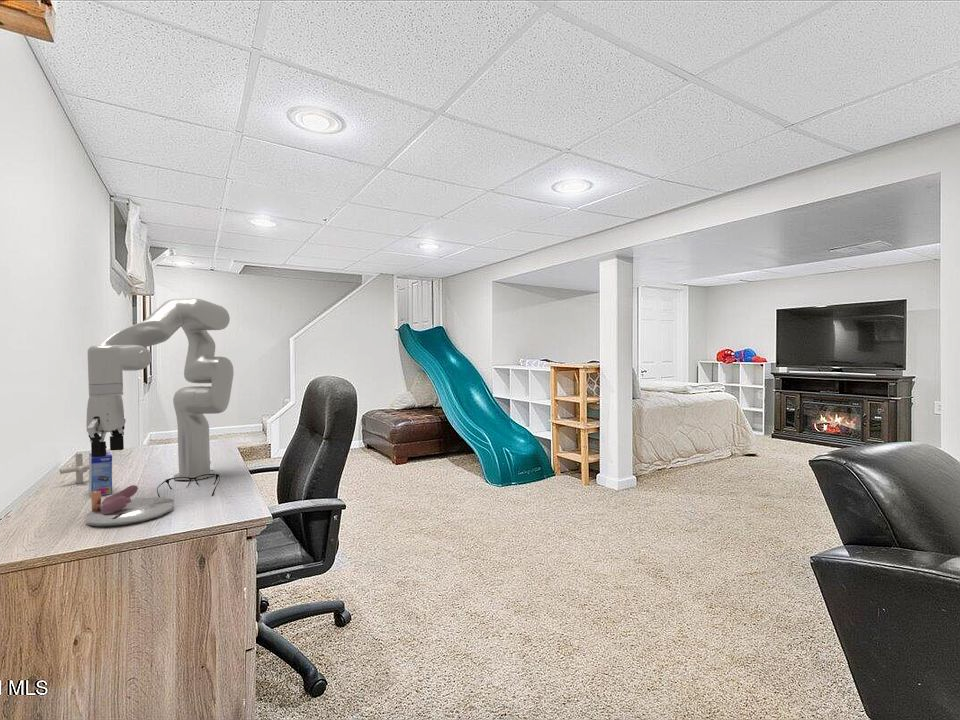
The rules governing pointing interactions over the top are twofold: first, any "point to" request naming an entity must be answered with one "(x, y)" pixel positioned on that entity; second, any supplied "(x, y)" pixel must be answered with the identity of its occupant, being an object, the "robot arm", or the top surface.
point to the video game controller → (118, 500)
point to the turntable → (128, 511)
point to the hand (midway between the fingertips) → (108, 453)
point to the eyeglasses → (190, 481)
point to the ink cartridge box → (100, 474)
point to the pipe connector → (77, 468)
